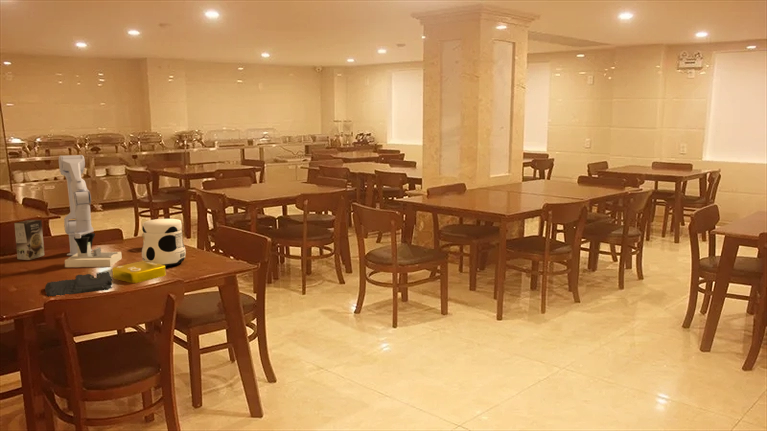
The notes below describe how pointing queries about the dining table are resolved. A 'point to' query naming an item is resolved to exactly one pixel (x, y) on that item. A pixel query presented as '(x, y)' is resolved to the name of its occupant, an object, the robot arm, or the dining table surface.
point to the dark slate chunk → (80, 284)
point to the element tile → (138, 271)
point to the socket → (93, 260)
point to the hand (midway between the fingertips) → (86, 251)
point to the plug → (85, 253)
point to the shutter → (98, 253)
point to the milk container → (163, 242)
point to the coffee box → (29, 239)
